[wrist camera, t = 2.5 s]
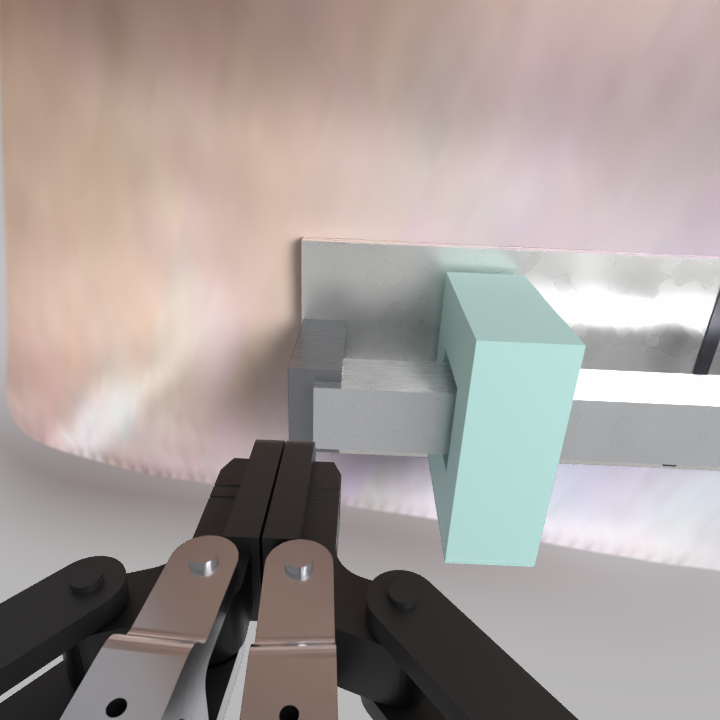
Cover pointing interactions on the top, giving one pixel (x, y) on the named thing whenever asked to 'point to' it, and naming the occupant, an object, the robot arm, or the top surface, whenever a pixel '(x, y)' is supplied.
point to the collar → (501, 416)
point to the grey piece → (436, 380)
